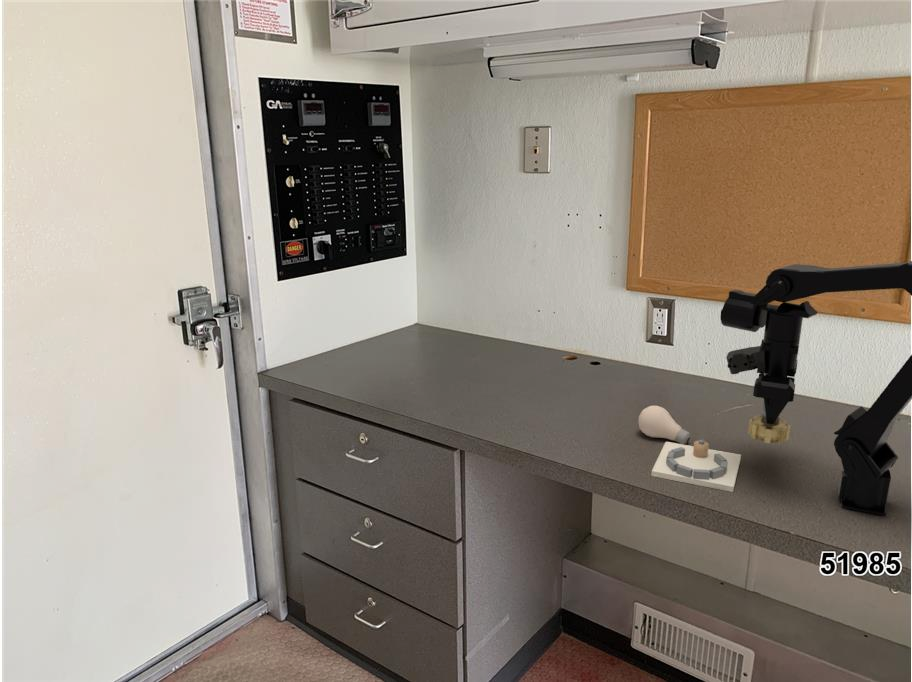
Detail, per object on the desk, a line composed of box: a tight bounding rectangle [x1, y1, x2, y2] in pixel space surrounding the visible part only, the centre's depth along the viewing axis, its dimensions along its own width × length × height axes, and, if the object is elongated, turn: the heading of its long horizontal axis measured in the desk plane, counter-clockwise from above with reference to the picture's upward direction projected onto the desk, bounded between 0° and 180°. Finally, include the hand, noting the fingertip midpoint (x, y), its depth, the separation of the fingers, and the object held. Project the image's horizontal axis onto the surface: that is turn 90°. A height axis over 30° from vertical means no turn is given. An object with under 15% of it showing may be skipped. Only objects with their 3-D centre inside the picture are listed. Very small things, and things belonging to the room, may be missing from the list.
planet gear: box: [747, 401, 792, 445], centre depth 129 cm, size 7×7×7 cm
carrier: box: [650, 439, 742, 493], centre depth 132 cm, size 14×14×4 cm
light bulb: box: [638, 405, 691, 445], centre depth 145 cm, size 7×7×11 cm
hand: (770, 420), depth 129 cm, fingers closed on planet gear, 3 cm apart
